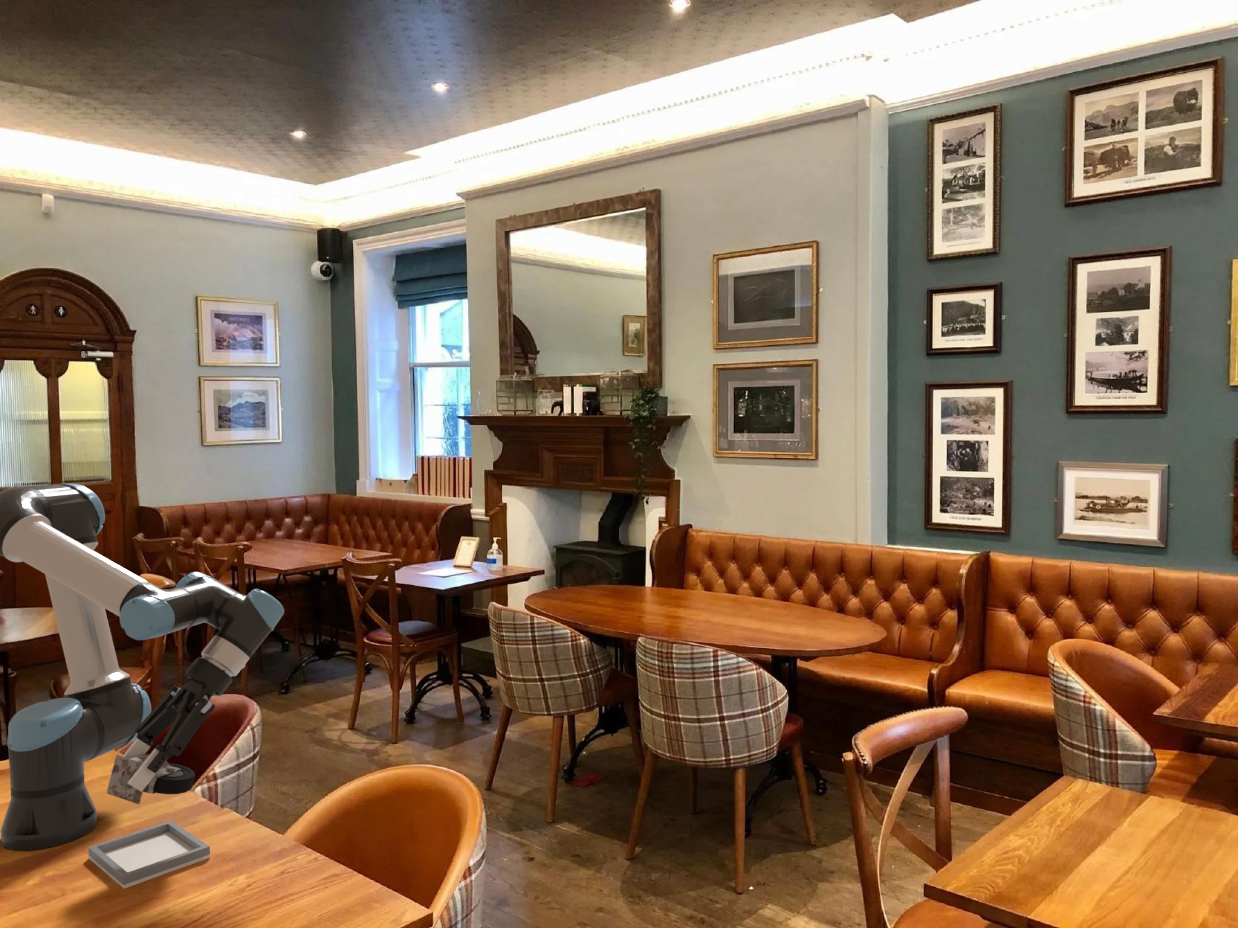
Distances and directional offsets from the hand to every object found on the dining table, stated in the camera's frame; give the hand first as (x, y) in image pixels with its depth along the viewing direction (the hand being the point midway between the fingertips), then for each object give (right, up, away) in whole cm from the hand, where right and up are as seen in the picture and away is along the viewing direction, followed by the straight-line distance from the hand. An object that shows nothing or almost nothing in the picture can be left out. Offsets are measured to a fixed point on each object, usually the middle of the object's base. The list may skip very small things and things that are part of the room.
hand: (125, 781), depth 157 cm
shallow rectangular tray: (+2, -14, +3) cm, 15 cm away
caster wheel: (+3, -3, +4) cm, 6 cm away
